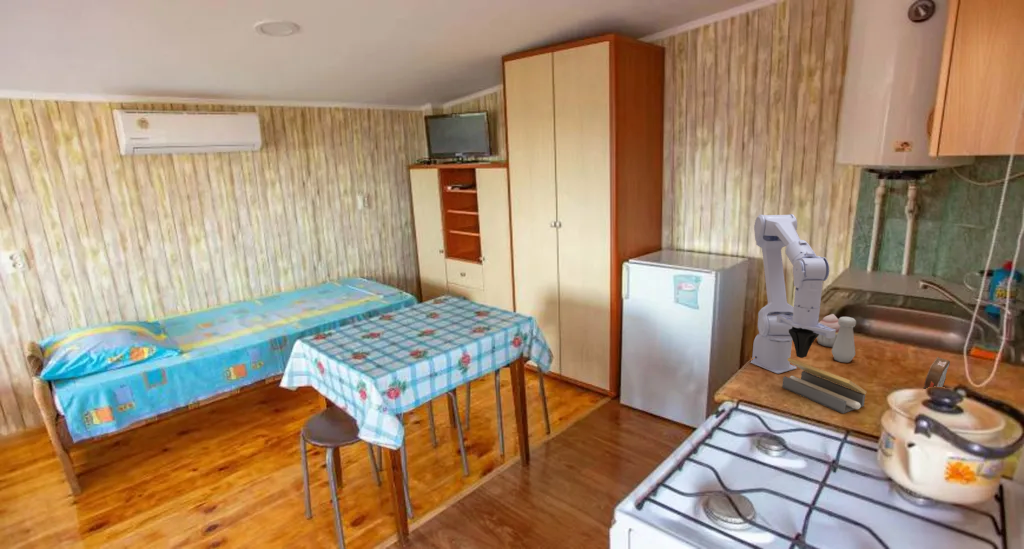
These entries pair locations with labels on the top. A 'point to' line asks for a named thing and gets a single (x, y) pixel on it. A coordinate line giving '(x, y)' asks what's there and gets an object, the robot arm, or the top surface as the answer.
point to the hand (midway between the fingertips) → (801, 356)
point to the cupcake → (832, 323)
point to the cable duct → (824, 392)
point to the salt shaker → (844, 340)
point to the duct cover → (827, 376)
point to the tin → (937, 373)
